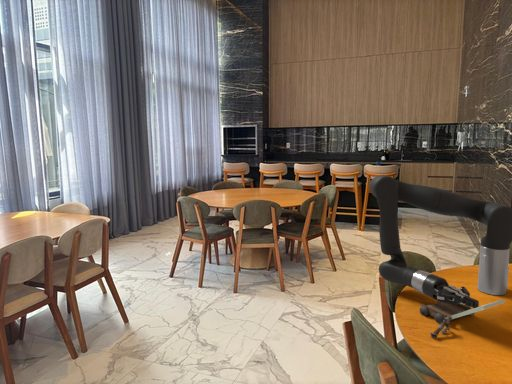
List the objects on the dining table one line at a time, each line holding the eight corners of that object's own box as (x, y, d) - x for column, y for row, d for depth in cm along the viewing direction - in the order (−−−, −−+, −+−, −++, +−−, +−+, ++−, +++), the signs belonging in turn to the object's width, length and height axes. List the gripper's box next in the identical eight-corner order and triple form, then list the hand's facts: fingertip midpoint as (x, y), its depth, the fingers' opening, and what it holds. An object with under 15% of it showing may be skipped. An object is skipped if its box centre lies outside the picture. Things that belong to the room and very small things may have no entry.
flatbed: (447, 304, 132) (447, 296, 132) (476, 317, 123) (476, 308, 122) (418, 313, 126) (419, 305, 125) (447, 327, 117) (447, 318, 116)
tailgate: (471, 308, 122) (503, 298, 112) (472, 311, 121) (505, 302, 112) (450, 315, 117) (482, 306, 108) (452, 319, 117) (484, 309, 108)
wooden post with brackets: (453, 328, 114) (450, 317, 113) (438, 346, 111) (435, 334, 109) (447, 326, 116) (444, 314, 114) (433, 343, 113) (430, 332, 111)
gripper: (415, 277, 126) (463, 297, 111) (443, 270, 132) (492, 289, 117) (414, 298, 128) (461, 321, 112) (441, 291, 133) (490, 312, 118)
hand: (477, 304), depth 114 cm, fingers closed
